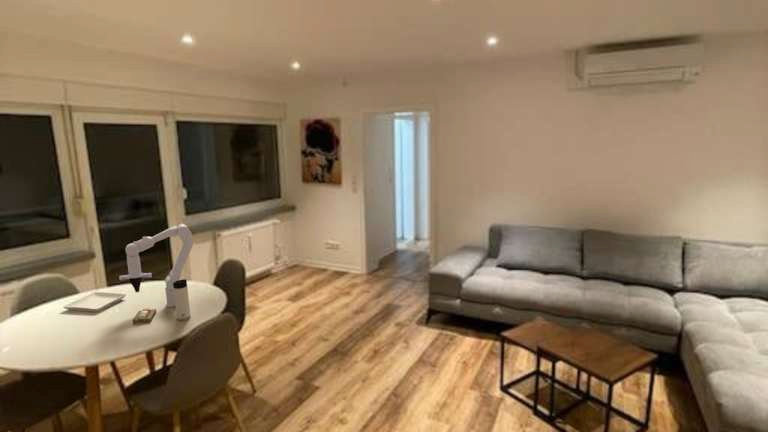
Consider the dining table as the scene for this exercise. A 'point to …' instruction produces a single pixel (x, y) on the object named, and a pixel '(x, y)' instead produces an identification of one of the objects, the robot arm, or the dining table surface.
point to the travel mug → (181, 300)
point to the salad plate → (95, 301)
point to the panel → (148, 319)
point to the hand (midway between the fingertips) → (137, 291)
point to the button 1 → (142, 316)
